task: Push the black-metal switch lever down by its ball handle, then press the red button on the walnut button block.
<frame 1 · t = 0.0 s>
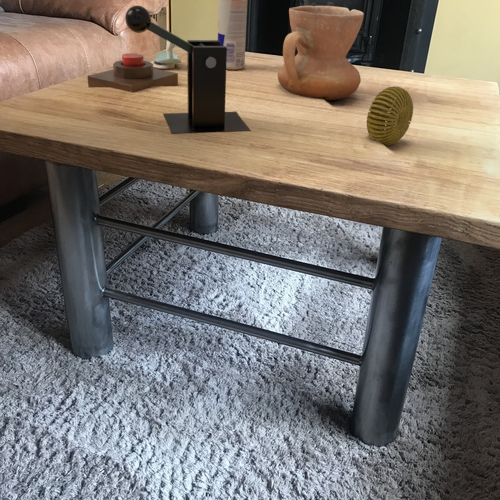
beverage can: (230, 68, 116), on the table
pacifier: (164, 67, 113), on the table
ceramic jug: (314, 96, 100), on the table
switch lever: (172, 38, 73), point 12 cm above the table, hinge at 28.0°
button block: (134, 87, 98), on the table
button: (132, 60, 96), point 4 cm above the table, slide at 0.1 cm
sculpture: (384, 145, 79), on the table
switch bracket: (205, 129, 80), on the table
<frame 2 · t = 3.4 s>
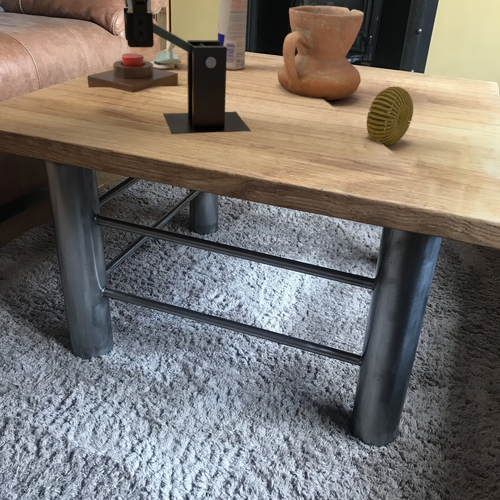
hand: (139, 42, 72), 12 cm above the table, tool pointing down, fingers closed on switch lever, 3 cm apart
switch lever: (172, 38, 73), point 12 cm above the table, hinge at 28.0°, touching gripper
everything else where it was.
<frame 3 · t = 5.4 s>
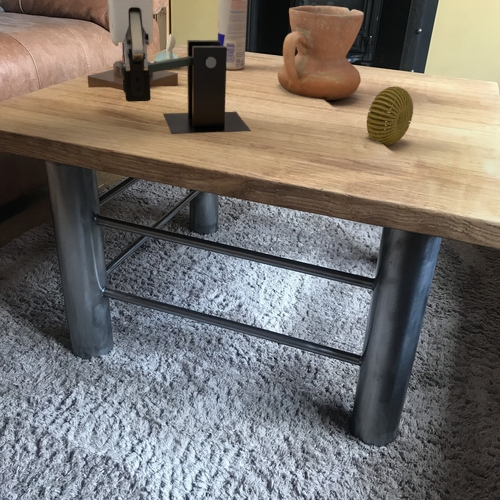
hand: (136, 95, 75), 5 cm above the table, tool pointing down, fingers closed on switch lever, 3 cm apart
switch lever: (169, 64, 74), point 9 cm above the table, hinge at -9.9°, touching gripper
everything else where it was.
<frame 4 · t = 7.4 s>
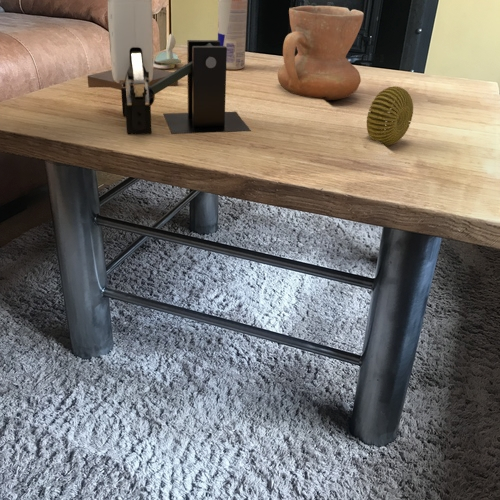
hand: (136, 123, 77), 1 cm above the table, tool pointing down, fingers open, 7 cm apart
switch lever: (174, 77, 75), point 7 cm above the table, hinge at -29.9°
everything else where it was.
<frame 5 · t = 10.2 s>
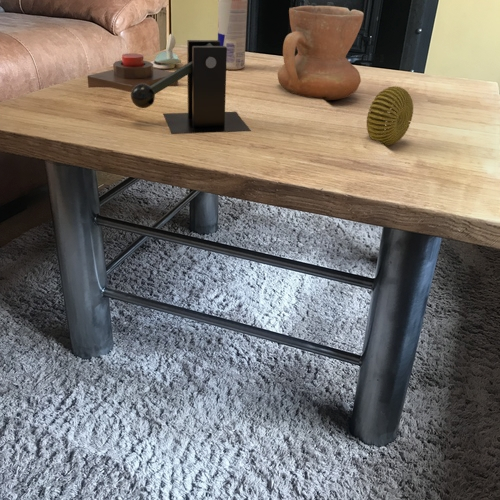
nothing on the table moved.
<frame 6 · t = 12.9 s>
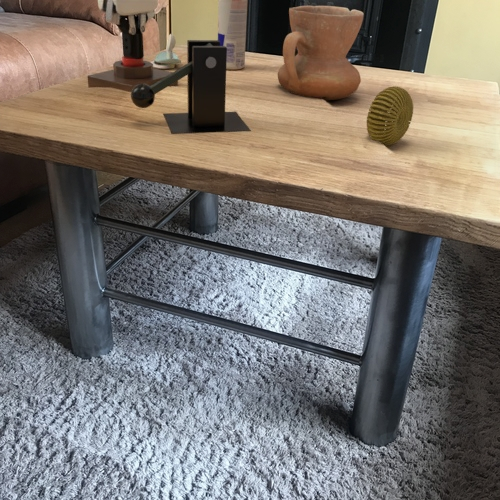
hand: (133, 57, 96), 5 cm above the table, tool pointing down, fingers closed
button: (133, 62, 96), point 4 cm above the table, slide at -0.2 cm, touching gripper
everything else where it was.
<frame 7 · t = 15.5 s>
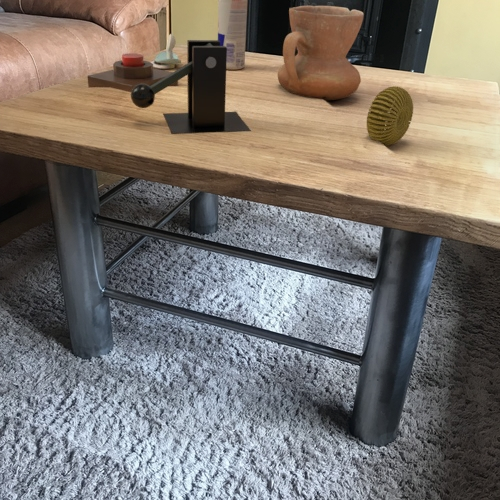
button: (132, 60, 96), point 4 cm above the table, slide at 0.1 cm
everything else where it was.
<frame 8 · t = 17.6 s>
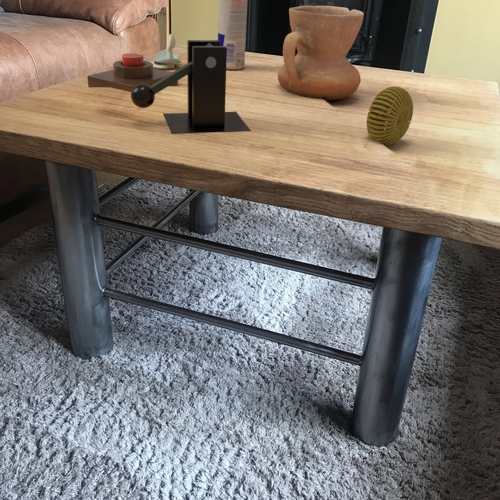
nothing on the table moved.
at the end: switch lever at -30° (first picture: +28°); button pushed in 1.1 cm at the most during the clip, back to where it started at the end; button slide at 0.1 cm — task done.
